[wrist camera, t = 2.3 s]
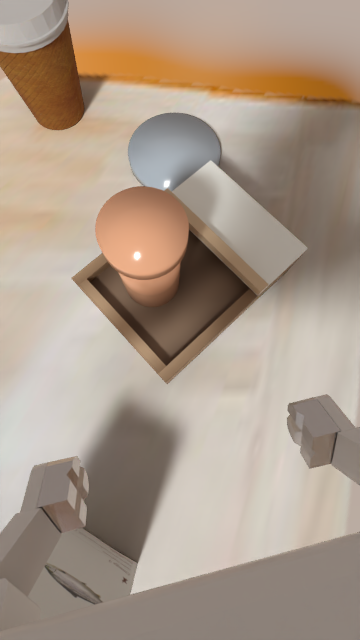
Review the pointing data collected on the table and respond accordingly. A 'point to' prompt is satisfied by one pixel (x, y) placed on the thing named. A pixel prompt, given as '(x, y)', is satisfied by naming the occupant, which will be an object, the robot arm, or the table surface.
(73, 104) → the disposable coffee cup
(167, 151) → the saucer
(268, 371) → the table surface
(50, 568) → the supplement box
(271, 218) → the lid panel
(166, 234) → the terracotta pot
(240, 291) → the wooden box
